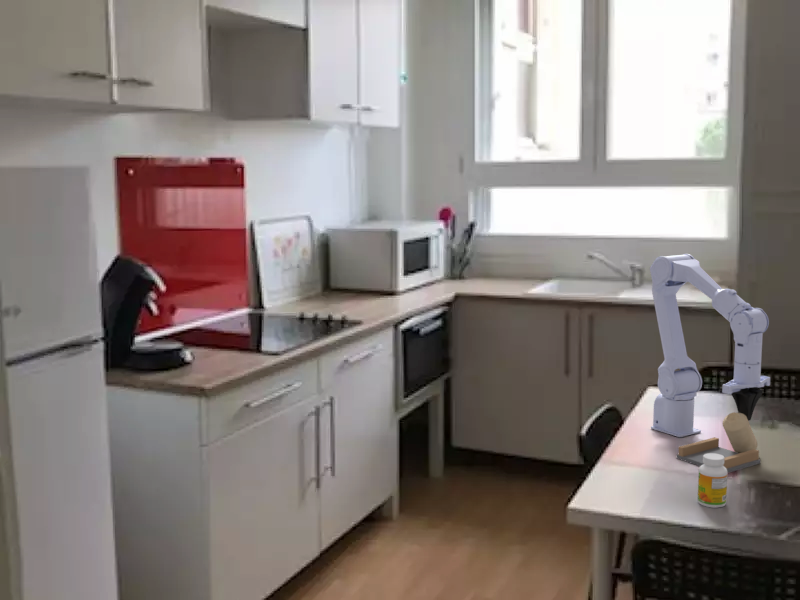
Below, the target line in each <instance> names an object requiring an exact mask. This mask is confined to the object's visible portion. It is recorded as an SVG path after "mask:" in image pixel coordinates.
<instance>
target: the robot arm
mask: <svg viewBox="0 0 800 600" xmlns="http://www.w3.org/2000/svg"><path fill="white" fill-rule="evenodd" d="M700 264H701V263H700V261H699V260H697V259H696V258H695V257H694V256H693V255H692V254H689V253H683V254H677V255H676V254H674V255H667V256H664V255H660V256H657V257H656V258H655V259H654V260H653V262H652V264H651V266H650V267H649V271H650V276H651V277H650V278H651V281H652V284H651V291H652V299H653V302H654V303H653V304H654V309H655V314H656V320H657V326H658V330H659V331H658V332H659V336H660V341H661V342H660V343H661V348H662V353H663V357H664V360H663V362H662V363H661V364H660V365H659V366H658V368H657V373H658V377H657V378H658V379H657V388H658V390H659V391H658V392H659V394H658V395H657V396H656V397H655V400H654V401H653V417H652V418H653V421H652V424H653V425H652V426H650V429H652V430H655V431H658V432H661V433H665V434H668V435H671V436H675V437H677V438H683V437H687V436H690V435H694V434H698V433H701V431H702V430H701V429H700V428H699V429H698V428H695V427H694V421H695V420H694V418H695V417H694V416H695V397H697V393H698V392H700V390H701V389H702V385H703V378H702V375H701V373H700V372H699V370H698V368H697V364H696V362H695V361H694V360H692V359H691V358H690V357H689V356H688V353H687V348H686V343H685V341H686V340H685V336H684V332H683V331H684V330H683V327H682V321H681V316H680V315H681V314H680V310H679V304H678V301H677V299H678V298H677V294H678V292H679V291H680V289H681V288H682V287H683V286H684V285H685V284H686V283H689V284H691V285H692V286H693V287H695V289H697V290H698V291H700V292H702V293H703V294H704V295H705V296H707V298H709V299H710V300H711V307H712V308H713V310H716V311H717V312H718V313H719V315H721V316H723V318H725V320H727V321H728V322H729V325H730V329H731V332H732V333H733V340H734V342H735V343H734V360H733V361H734V366H733V379H731V380H729V381H728V382H726V383H723V384H722V387H721V388H722V391H721V393H723V394H725V395H731V396H732V398H733V400H734V402H735V405H736V410H737V413H742V414H744V415H745V416H746V417H747V419H748V422H749V421H751V419H752V417H753V414H754V411H755V407H756V405H757V404H758V401H759V400H760V398H761V397H762V396H763V390H762V389H760V388H764V387H765V386H767V387H768V386H770V385H771V377H770V376H767V375H762V374H761V372H762V358H763V357H762V354H763V351H762V350H763V336H764V335H763V334H764V333H765V332H766V331H767V330H768V328H769V326H770V325H769V324H770V319H769V316H768V315H767V313H766V312H765V311H764V309H763V308H760V307H753V306H751V303H749V302H746V300H744V299H743V298H742V297H741V296H740V295H738V294H737V293H738V292H737V291H736V290H735V289H731V288H722V286H720V285H719V284H718V283H717V282H716V281H715V280H714V279H713V278H712V277H711V276H710V275H709V274H708V273H707V272H706V270H704V269H703V268H702V267H701V265H700ZM678 369H679V370H678ZM758 388H759V389H758Z"/></svg>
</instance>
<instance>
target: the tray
mask: <svg viewBox="0 0 800 600" xmlns="http://www.w3.org/2000/svg"><path fill="white" fill-rule="evenodd" d="M719 440H720V438H719V437H710V438H707V439H703V440H700V441H696V442H692V443H688V444H685V445H680V446H678V454H676V459H678V458H679V459H678V460H681V459H682V460H681V461H684V460H686V461H685V462H687V461H688V462H687V463H690V462H691V463H690V464H693V465H696V464H697V465H696V466H699V467H700V466H701V465H703V464H704V463H703V455H704V454H707V453H716V454H720V455H723V456H724V465H723V466H724V467H725V468H726V469H727V474H729V473H732V472H735V471H739V470H743V469H745V468H749V467H753V466H755V465H759V464H761V459H759V457H760V456H759V455H760V450H758V449H756V450H755V449H753V450H750V451H746V452H743V453H737V452H735V451H734V450H729V449H726V448H724V447H721V446H720V445H719V444H720V441H719ZM752 465H753V466H752Z"/></svg>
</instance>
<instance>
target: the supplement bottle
mask: <svg viewBox="0 0 800 600" xmlns="http://www.w3.org/2000/svg"><path fill="white" fill-rule="evenodd" d="M703 463H704V464H703V465H701V466H699V467H698V481H697V482H698V484H697V486H698V487H697V502H698V503H699V504H700V505H701V506H703V507H706V508H712V509H713V508H722V507H725V506H726V505H727V504H726V503H727V494H728V491H727V489H728V473H727V469H726V468H725V467H724V466H723V465H724V456H723V455H720V454H716V453H707V454H704V455H703Z"/></svg>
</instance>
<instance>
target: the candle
mask: <svg viewBox="0 0 800 600" xmlns="http://www.w3.org/2000/svg"><path fill="white" fill-rule="evenodd" d="M722 427H723V429H724V432H725V433H726V436H727V438H728V440H729V442H730V445H731V447H732V449H733V451H734V452H737V453H743V452H746V451H750V450H753V449H755V450H757V448H758V441H757V438H756V436H755V433H754V432H753V429H752V427H751V425H750V422H749V421H748V419H747V417H746V416H745V415H744V414H742V413H738V412H735V411H734V412H731V413H729V414H728V415H726V416H725V417H724V418H723V420H722Z"/></svg>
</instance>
